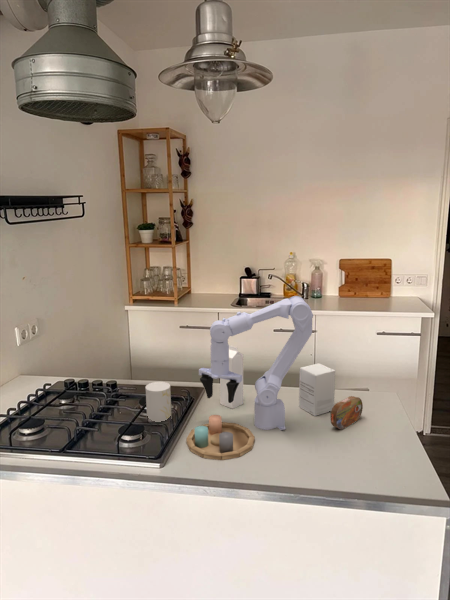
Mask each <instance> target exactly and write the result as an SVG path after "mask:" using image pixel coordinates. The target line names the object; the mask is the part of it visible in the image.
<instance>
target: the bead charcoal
mask: <svg viewBox="0 0 450 600" xmlns="http://www.w3.org/2000/svg"><path fill="white" fill-rule="evenodd" d="M219 451H220V453H226V452H232V451H233V434H232V433H230V432H222V433H220V434H219Z"/></svg>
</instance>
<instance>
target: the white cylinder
mask: <svg viewBox="0 0 450 600" xmlns="http://www.w3.org/2000/svg"><path fill="white" fill-rule="evenodd" d="M171 394H172V393H171V384H170V383H169V382H166V381H153V382H150V383H148V384H146V385H145V402H146V403H145V405H146V417H147V416H148V418H149V419H151V420H152V421H155V422H161V421H165V420H167V419H168V418H169V417H170V416H171V417H172V399H171V398H172V395H171Z"/></svg>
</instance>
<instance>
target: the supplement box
mask: <svg viewBox="0 0 450 600" xmlns="http://www.w3.org/2000/svg"><path fill="white" fill-rule="evenodd" d="M298 380H299V385H298V387H299V389H298V395H299V396H298V407H299V408H300V409H302V410H303V409H304V410H303V411H305V412H307V413H309V414H311V415H312V416H314V417H317V416H321V415H323V414H326V413H329V411H330V412H331V410H332V408H333V406H334V405H335V396H336V395H335V394H336V393H335V390H336V388H335V387H336V386H335V385H336V370H335V369H333V368H330V367H329V366H326V365H324V364H322V363H319V362H318V363H314V364H310V365H306V366H305V365H304V366H302V367H299V379H298Z"/></svg>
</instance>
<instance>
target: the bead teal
mask: <svg viewBox="0 0 450 600" xmlns="http://www.w3.org/2000/svg"><path fill="white" fill-rule="evenodd" d="M194 429H195V446H196V447H199V448H204V447H207V446H208V428H207V427H206V426H201V425H198V426H195V428H194Z"/></svg>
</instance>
